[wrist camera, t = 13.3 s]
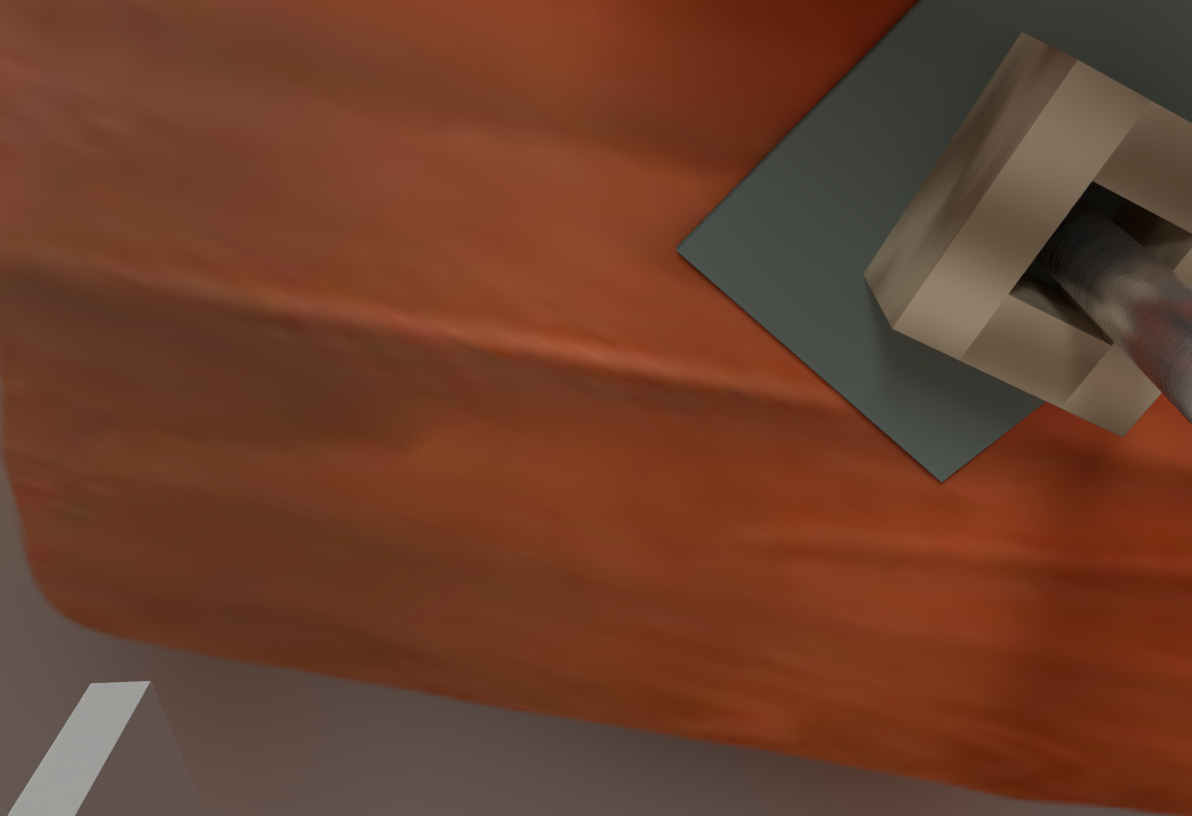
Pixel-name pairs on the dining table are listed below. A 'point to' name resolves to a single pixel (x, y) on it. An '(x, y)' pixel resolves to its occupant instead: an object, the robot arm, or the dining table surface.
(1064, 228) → the metal peg
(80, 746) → the robot arm
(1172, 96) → the felt mat
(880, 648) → the dining table surface
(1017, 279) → the wooden square socket block
